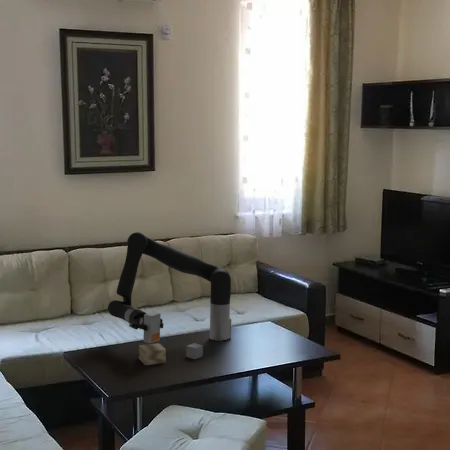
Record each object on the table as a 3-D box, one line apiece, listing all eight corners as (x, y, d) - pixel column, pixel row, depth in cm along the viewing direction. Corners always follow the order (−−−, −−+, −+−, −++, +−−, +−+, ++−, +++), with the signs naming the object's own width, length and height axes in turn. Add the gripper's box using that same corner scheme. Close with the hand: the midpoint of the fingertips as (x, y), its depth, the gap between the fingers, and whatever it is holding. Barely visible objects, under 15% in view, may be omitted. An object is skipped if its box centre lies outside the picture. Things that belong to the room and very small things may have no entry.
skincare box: (150, 343, 287) (150, 316, 285) (143, 341, 290) (143, 314, 288) (160, 340, 292) (160, 313, 290) (153, 338, 295) (153, 311, 293)
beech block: (159, 356, 298) (159, 343, 297) (165, 363, 290) (165, 349, 289) (138, 358, 294) (138, 345, 293) (145, 365, 286) (145, 351, 285)
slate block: (194, 354, 302) (194, 343, 301) (202, 356, 298) (202, 345, 298) (186, 356, 298) (186, 345, 297) (194, 359, 295) (194, 348, 294)
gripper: (121, 311, 297) (139, 320, 283) (150, 307, 305) (169, 316, 292) (121, 328, 298) (139, 338, 285) (150, 323, 306) (169, 333, 293)
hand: (154, 327), depth 288 cm, fingers closed on skincare box, 7 cm apart
